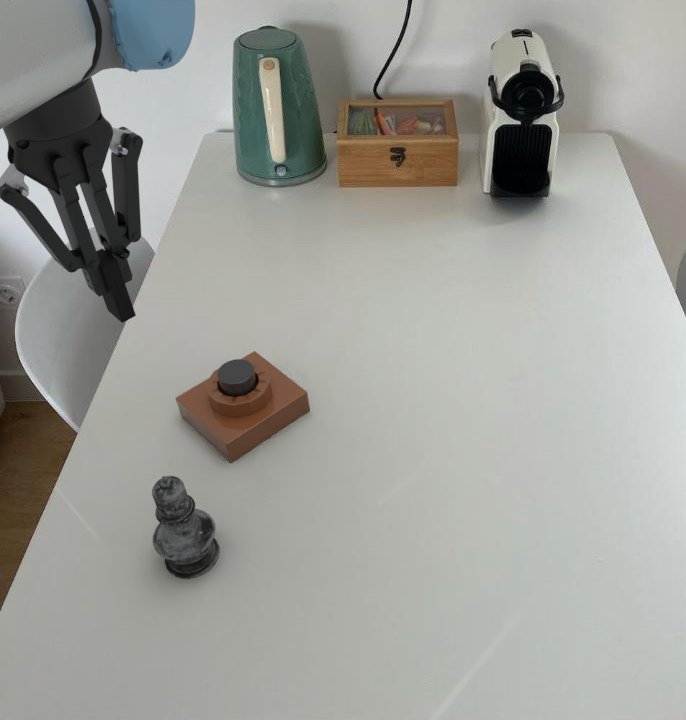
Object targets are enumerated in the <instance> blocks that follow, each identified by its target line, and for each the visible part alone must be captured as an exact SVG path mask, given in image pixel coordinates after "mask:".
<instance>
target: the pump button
mask: <svg viewBox="0 0 686 720" xmlns="http://www.w3.org/2000/svg"><path fill="white" fill-rule="evenodd" d="M218 369H219V370H218V372H217V376H218V380H219V384H220V388H221V391H222V392H223V393H224V394H225V395H227V396H231V397H238V396H244V395H247V394H248V393H250V392H251V391H253V390H254V388H255V387H256V384H257V380H256V375H255V371H254V367H253V365H252V364H251V363H250V362H249V361H247V360H243V359H242V358H235V359H231V360H228V361H225V362H224V363H222V364H221V366H219V368H218Z"/></svg>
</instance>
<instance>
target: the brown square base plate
mask: <svg viewBox="0 0 686 720" xmlns="http://www.w3.org/2000/svg"><path fill="white" fill-rule="evenodd" d="M241 359H243V360H247V361H249V362H250V363H251V364H252V365H253V367H254V371H255V375H256V380H257V384H256V387H255V388H254V390H253V391H251V392H250V393H248V394H247V395H244V396H238V397H231V396H227V395H225V394H224V393H223V392H222V391H221V388H220V384H219V380H218V376H217V372H218V370H219V368H217V369H215V370H213V372H212V374H211V375H210V377H208V378H206V379H205V380H203V381H201V382H200V383H197V384H196V385H195V386H193V387H190V389H188V390H186V391H184V392H183V393H181V394H179V395H178V396H176V397H175V402H176V405H177V407H178V410H179V413H180V417H182V419H184V420H185V421H186V422H187V423H188V424H189V426H191V427H192V428H194V429H195V431H197V432H198V433H199V434H200V435H201V436H202V437H203V438H204V439H205V440H206V441H207V442H208V443H210V445H212V446H213V448H215V450H217V451H218V452H219V453H220V454H221V455H222V456H223V457H224V458H225V459H226V460H228V462H230V463H233V462H235V461H237V460H238V459H239V458H241V457H242V456H244V455H245V454H247V453H248V452H250V451H252V450H253V449H254V448H256V447H258V446H259V445H261V444H262V443H263V442H265V441H266V440H268V439H269V438H271V437H272V436H274V435H275V434H277V433H279V432H280V431H281V430H283V429H284V428H286V427H288V426H289V425H290V424H292V423H294V422H295V421H297V420H298V419H299V418H301V417H303V416H304V415H306V414H307V413H308V412H310V411H311V408H310V400H309V396H308V395H309V394H308V391H307V390H305V389H304V388H303V387H302V386H300V384H297V382H295V381H294V380H293V379H291V378H290V377H289V376H288V375H287V374H285V373H283V372H282V371H281V370H280V369H278V368H277V367H276V366H275V365H274V364H272V363H271V362H270V361H268V360H267V359H266V358H265V357H263V356H262V355H261V354H259V353H258V352H257V351H256V350H254V351H252V352H250V353H249V354H247V355H245V356H244V357H242V358H241Z"/></svg>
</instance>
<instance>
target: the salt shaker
mask: <svg viewBox="0 0 686 720" xmlns="http://www.w3.org/2000/svg"><path fill="white" fill-rule="evenodd" d="M151 496H152V498H153V502H154V504H155V511H154V516H155V518H156V520H157V521H158V525H157V526H156V527H155V529H154V532H153V535H152V545H153V547H154V550H155V551H156V553H157V554H158V555H159V556H160V557H162V558H163V559H164V565H165V568H166V570H167V571H168V572H169V574H171V575H172V576H174V577H175V578H178V579H184V580H185V579H188V580H189V579H195V578H198V577H201V576H203V575H204V574H206V573H208V572H210V570H211V569H212V568H213V567H214V566H215V565H216V563H217V561H218V559H219V556H220V545H219V543H218V541H217V539H216V538H215V536H216V532H217V529H216V522H215V520H214V518H213V516H211V514H210V513H208V512H206V511H204V510H203V509H198V508H196V503H195V499H194V498H193V497H192V496H191V495H189V494H188V492H187V490H186V486H185V484H184V482H183V480H182V479H181V478H180V477H178V476H175V475H166V476H165V475H163V476H162V477H160V478H159V479H158V480H157V481H155V483H154V485H153V486H152V488H151Z"/></svg>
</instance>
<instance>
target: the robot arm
mask: <svg viewBox="0 0 686 720" xmlns="http://www.w3.org/2000/svg"><path fill="white" fill-rule="evenodd" d="M195 23H196V0H0V130H3V133H4V135H5V137H6V141H7V155H6V157H7V161H8V162H9V165H8V166H7V168H6V169H5V171H4V172H3V173H2V175H1V176H0V200H2V202H4V204H5V203H6V204H8V205H9V206H11V208H13V209H14V210H15V212H16V213H17V214H18V215H19V217H20V218H21V219H22V220H23V222H24V223H25V224H26V226H27V227H28V228H29V229H30V230H31V232H32V233H33V234H34V236H35V237H36V238H37V240H38V241H39V242H40V244H41V245H42V246H43V247H44V249H46V251H47V252H48V254H49V255H50V256H51V257H52V259H53V260H54V261H56V262H57V264H59V266H61V267H62V268H63V269H64V270H66V272H68V273H71V274H72V273H75V272H77V271H78V270H80V269H81V272H82V274H83V277H84V280H85V283H86V284H87V287H88V288H89V289H90V290H91V292H93V293H94V294H95V295H97V296H98V297H102V299H103V302H104V304H105V306H106V309H107V311H108V312H109V313H110V314H111V315H112V316H114V317H115V318H116V319H117V321H119V322H120V323H121V324H123V323H125V322H127V321H129V320H131V319H132V318H134V317H136V312H135V308H134V305H133V303H132V300H131V297H130V293H129V291H128V289H127V285H126V284H128V283H129V282H131V281H132V280H133V272H132V269H131V267H130V263H129V261H128V259H129V257H130V254H131V251H130V250H129V249H128V248H127V247H129V245H130V244H132V243H138V242H139V241H140V239H141V238H142V219H141V203H140V201H141V200H140V183H139V182H140V181H139V179H140V178H139V160H140V156H141V153H142V149H143V145H144V139H143V138H142V136H140V134H137V133H136V132H134V131H132V130H131V129H129V128H127V127H126V126H120V127H118V128H117V127H113V125H112V124H111V123H110V121H109V120H108V119H106V117H105V116H104V115H103V113H102V107H101V104H100V100H99V97H98V94H97V91H96V87H95V84H94V80H93V78H92V77H93V76H95V75H97V74H98V73H100V72H102V71H105V70H109V69H122V70H127V71H128V72H130V73H131V72H134V73H137V72H139V71H150V70H151V71H153V70H154V71H155V70H167V69H170V68H173V67H175V66H176V65H177V64H179V63H180V62H181V61H182V59H183V58H184V57H185V56H186V54H187V52H188V50H189V47H190V45H191V43H192V40H193V36H194V31H195ZM109 150H110V164H111V179H112V181H111V182H112V194H113V195H112V196H113V205H112V203H111V200H110V196H109V194H108V191H107V188H108V183H107V181H106V177H105V175H104V172H103V168H104V165H105V162H106V159H107V156H108V153H109ZM25 177H27V178H29V179H31V180H32V181H34V182H36V183H38V184H39V185H41V186H43V187H44V188H46V190H47V191H48V193H49V194H50V195H51V198H52V200H53V204H54V206H55V208H56V210H57V214H58V216H59V219H60V221H61V224H62V226H63V227H62V228H63V230H64V231H65V234H66V237H67V239H68V242H69V245H70V248H71V249H69V247H68V246H67V245H66V243H65V242H64V241H63V239H62V238H61V237H60V235H59V234H58V233H57V231H56V230H55V229H54V227H53V226H52V225H51V224H50V222H49V221H48V220H47V218H46V216H44V214H43V213H42V211H41V209H39V207H38V206H37V205H36V204H35V203H34V201H32V200H31V199H29V198H28V196H29V195H30V192H29V188H30V187H29V186H28V185H27V183H25ZM78 186H79V187H80V190H81V192H82V195H83V199H84V201H85V204H86V206H87V210H88V213H89V215H90V218H91V221H92V223H93V227H94V229H95V232H96V235H97V237H98V240H99V243H100V245H101V246H102V247H103V248H100V249H98V250H97V249H96V246H95V243H94V241H93V237H92V235H91V232H90V229H89V227H88V223H87V220H86V218H85V215H84V212H83V210H82V206H81V204H80V201H79V200H80V199H81V198H80V195H79V192H78V188H77V187H78ZM113 208H114V209H113Z"/></svg>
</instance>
